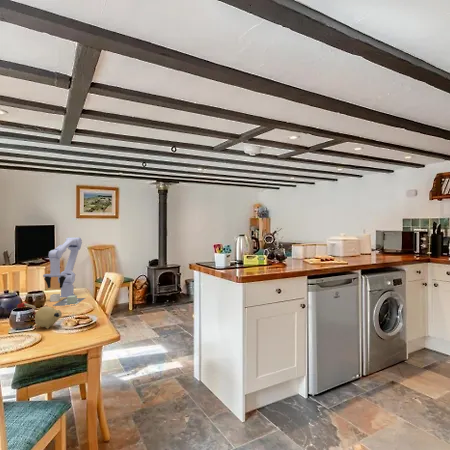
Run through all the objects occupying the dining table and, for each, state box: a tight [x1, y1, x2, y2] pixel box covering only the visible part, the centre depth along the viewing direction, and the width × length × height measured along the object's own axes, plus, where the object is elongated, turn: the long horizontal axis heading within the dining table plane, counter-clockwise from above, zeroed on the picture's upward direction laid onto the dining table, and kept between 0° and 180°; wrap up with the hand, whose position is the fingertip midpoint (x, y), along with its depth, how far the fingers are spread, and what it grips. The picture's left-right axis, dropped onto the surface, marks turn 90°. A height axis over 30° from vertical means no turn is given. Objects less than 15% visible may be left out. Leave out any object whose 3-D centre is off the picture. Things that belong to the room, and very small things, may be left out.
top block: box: [49, 293, 61, 302], centre depth 213 cm, size 4×4×4 cm
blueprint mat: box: [52, 297, 86, 307], centre depth 210 cm, size 20×14×1 cm
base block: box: [66, 295, 78, 304], centre depth 206 cm, size 4×4×4 cm
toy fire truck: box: [16, 301, 37, 311], centre depth 169 cm, size 3×14×10 cm, turn 84°
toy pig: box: [34, 306, 63, 330], centre depth 159 cm, size 10×12×11 cm
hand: (55, 287), depth 213 cm, fingers open, 7 cm apart
